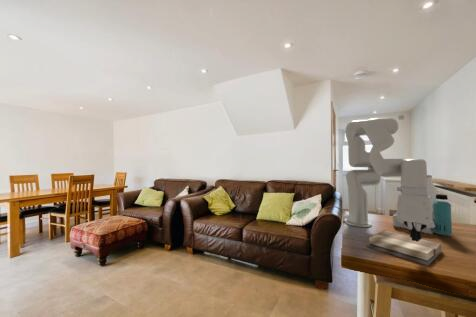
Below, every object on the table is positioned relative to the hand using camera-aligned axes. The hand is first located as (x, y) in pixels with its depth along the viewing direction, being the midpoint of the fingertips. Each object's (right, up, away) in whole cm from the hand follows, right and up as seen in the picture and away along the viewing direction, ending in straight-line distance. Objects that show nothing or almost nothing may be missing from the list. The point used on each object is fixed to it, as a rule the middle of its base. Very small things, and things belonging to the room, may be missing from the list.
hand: (415, 240), depth 77 cm
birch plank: (-1, -6, +6) cm, 9 cm away
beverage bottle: (+32, -7, +21) cm, 39 cm away
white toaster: (+25, -7, +31) cm, 41 cm away
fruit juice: (+39, -7, +37) cm, 54 cm away
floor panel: (+2, -7, +8) cm, 11 cm away
